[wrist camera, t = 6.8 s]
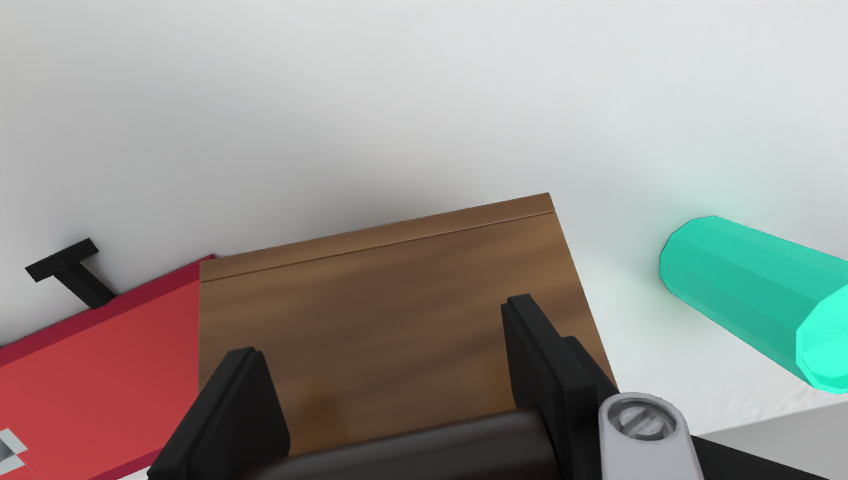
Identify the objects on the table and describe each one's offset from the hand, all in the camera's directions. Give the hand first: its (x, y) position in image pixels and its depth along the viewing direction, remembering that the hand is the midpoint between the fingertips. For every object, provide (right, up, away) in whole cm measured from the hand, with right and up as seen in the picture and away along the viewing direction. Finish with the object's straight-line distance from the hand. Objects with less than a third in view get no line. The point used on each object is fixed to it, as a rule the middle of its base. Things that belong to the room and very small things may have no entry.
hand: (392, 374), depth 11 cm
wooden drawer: (-1, +2, +9) cm, 9 cm away
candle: (+20, +2, +18) cm, 27 cm away
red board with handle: (-24, -6, +18) cm, 31 cm away
